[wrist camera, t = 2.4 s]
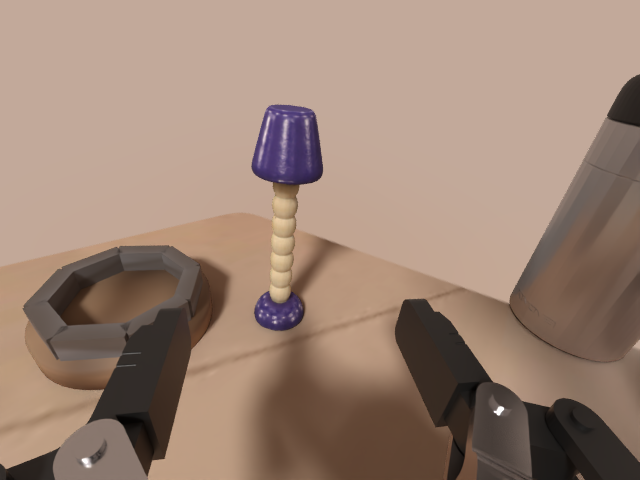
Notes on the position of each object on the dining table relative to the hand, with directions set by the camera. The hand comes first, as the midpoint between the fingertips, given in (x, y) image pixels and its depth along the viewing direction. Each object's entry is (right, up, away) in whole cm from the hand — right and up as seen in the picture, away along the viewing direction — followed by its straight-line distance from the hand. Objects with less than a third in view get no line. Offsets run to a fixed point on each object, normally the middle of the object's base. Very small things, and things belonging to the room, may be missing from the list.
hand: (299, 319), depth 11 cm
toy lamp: (-3, -4, +15) cm, 16 cm away
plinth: (-14, -3, +13) cm, 20 cm away
